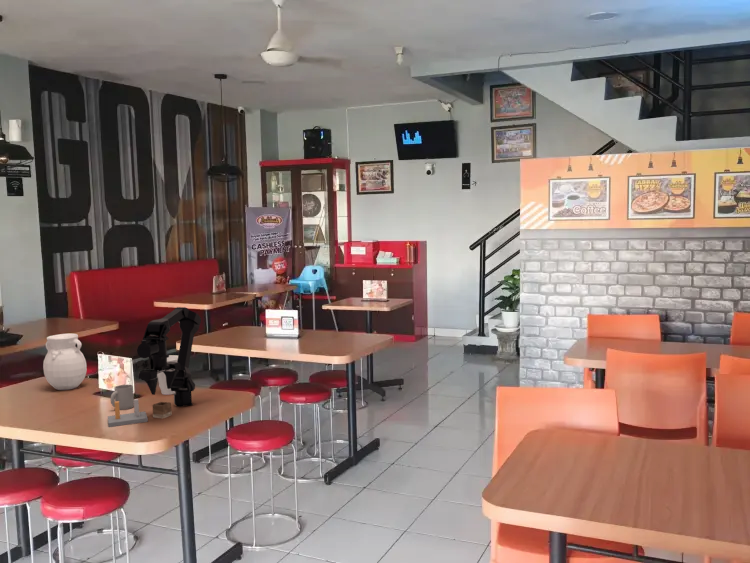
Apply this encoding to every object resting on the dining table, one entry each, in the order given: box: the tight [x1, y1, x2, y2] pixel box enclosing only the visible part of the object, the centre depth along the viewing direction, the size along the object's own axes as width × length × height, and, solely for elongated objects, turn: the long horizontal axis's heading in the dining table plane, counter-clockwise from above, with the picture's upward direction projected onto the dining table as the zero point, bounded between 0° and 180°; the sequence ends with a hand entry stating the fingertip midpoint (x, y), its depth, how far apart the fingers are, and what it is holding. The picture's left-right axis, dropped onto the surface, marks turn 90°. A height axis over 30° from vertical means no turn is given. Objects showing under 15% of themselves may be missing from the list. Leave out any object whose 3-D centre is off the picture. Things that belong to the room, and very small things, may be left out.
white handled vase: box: [42, 332, 88, 391], centre depth 309 cm, size 19×18×25 cm
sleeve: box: [151, 401, 173, 419], centre depth 259 cm, size 5×5×5 cm
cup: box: [110, 384, 135, 411], centre depth 272 cm, size 7×10×9 cm
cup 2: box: [157, 354, 178, 396], centre depth 295 cm, size 12×12×16 cm
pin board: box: [107, 398, 149, 428], centre depth 254 cm, size 14×10×8 cm
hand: (161, 391), depth 259 cm, fingers open, 9 cm apart
